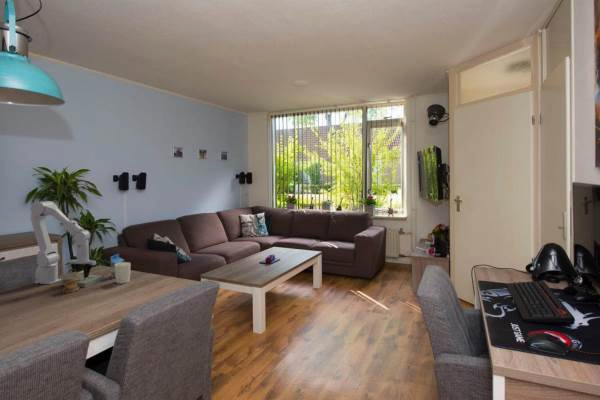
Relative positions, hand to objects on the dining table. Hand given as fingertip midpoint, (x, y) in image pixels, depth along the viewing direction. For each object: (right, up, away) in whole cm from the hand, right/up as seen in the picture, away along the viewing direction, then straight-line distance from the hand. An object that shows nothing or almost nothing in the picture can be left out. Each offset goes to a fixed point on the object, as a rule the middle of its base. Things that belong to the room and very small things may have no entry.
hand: (83, 277), depth 188 cm
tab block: (0, -3, -1) cm, 3 cm away
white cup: (+20, -3, +2) cm, 21 cm away
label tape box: (+12, -2, +14) cm, 18 cm away
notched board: (0, -3, 0) cm, 3 cm away
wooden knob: (+2, -4, -13) cm, 14 cm away
